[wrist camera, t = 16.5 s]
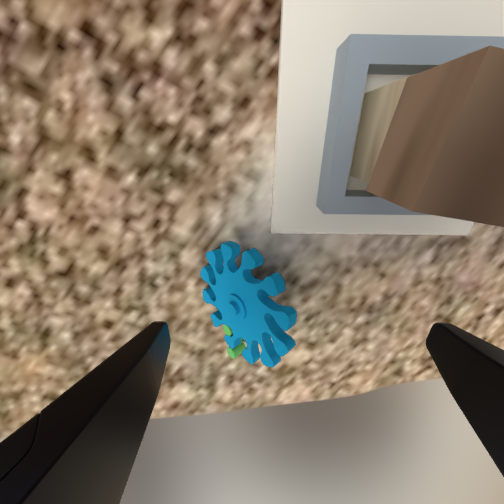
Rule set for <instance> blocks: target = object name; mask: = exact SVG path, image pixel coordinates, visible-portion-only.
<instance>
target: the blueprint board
mask: <svg viewBox="0 0 504 504" xmlns="http://www.w3.org/2000/svg"><path fill="white" fill-rule="evenodd" d="M487 46H494V47H499V48H503V49H504V0H282V7H281V28H280V48H279V69H278V89H277V110H276V130H275V151H274V171H273V192H272V212H271V234H380V235H469V233H470V231H471V228H472V226H473V224H474V222H472V221H466V220H460V219H454V218H448V217H442V216H436V215H430V214H424V213H418V212H412V211H410V210H407V209H405V208H403V207H401V206H399V205H396V204H394V203H392V202H390V201H388V200H385V199H383V198H381V197H379V196H377V195H374V194H372V193H370V192H368V191H366V188H367V186H368V183H367V182H365V181H362V180H359V179H357V178H354V177H352V176H350V172H351V167H352V161H353V156H354V150H355V145H356V139H357V134H358V128H359V122H360V117H361V111H362V106H363V100H364V95H365V93H367V92H370V91H372V90H375V89H377V88H380V87H382V86H385V85H387V84H390V83H393V82H395V81H398V80H400V79H403V78H405V77H408V76H410V75H413V74H418V73H420V72H423V71H425V70H428V69H431V68H433V67H436V66H438V65H441V64H444V63H446V62H449V61H451V60H454V59H456V58H459V57H462V56H464V55H467V54H469V53H472V52H474V51H477V50H480V49H482V48H485V47H487Z"/></svg>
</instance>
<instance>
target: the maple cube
mask: <svg viewBox="0 0 504 504" xmlns="http://www.w3.org/2000/svg"><path fill="white" fill-rule="evenodd" d="M413 75H415V74H413ZM413 75H410V76H413ZM410 76H408V77H410ZM406 80H407V77H405V78H403V79H400V80H398V81H395V82H393V83H390V84H387V85H385V86H382V87H380V88H377V89H375V90H372V91H370V92H367V93H365V95H364V100H363V106H362V111H361V117H360V122H359V128H358V134H357V139H356V145H355V150H354V156H353V161H352V167H351V172H350V176H352V177H354V178H357V179H359V180H362V181H365V182H367V183H369V180H370V178H371V175H372V172H373V169H374V167H375V164H376V161H377V159H378V156H379V153H380V150H381V148H382V145H383V142H384V139H385V137H386V134H387V131H388V129H389V126H390V123H391V120H392V118H393V115H394V112H395V110H396V107H397V104H398V101H399V99H400V96H401V93H402V91H403V88H404V85H405V82H406Z"/></svg>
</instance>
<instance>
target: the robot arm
mask: <svg viewBox="0 0 504 504" xmlns="http://www.w3.org/2000/svg"><path fill="white" fill-rule="evenodd" d="M426 346H427V349H428V351H429V353H430V355H431V356H432V358H433V360H434V362H435V364H436V366H437V368H438V370H439V372H440V374H441V376H442V378H443V379H444V381H445V383H446V385H447V387H448V389H449V391H450V393H451V394H452V396H453V397H454V399H455V401H456V402H457V404H458V406H459V407H460V409H461V410H462V411H463V414H464V415H465V417H466V418H467V420H468V421H469V423H470V425H471V426H472V428H473V429H474V431H475V432H476V434H477V436H478V437H479V439H480V440H481V442H482V444H483V445H484V447H485V448H486V450H487V451H488V453H489V455H490V456H491V458H492V459H493V461H494V462H495V464H496V466H497V467H498V469H499V470H500V472H501V473H502V475H503V477H504V350H502V349H500V348H498V347H496V346H494V345H492V344H490V343H488V342H486V341H484V340H482V339H480V338H478V337H476V336H474V335H472V334H470V333H468V332H466V331H464V330H462V329H460V328H458V327H456V326H454V325H452V324H450V323H435V324H433V326H432V328H431V330H430V332H429V334H428V337H427V339H426ZM169 349H170V335H169V330H168V325H167V323H166V322H164V321H155V322H153V323H151V324H150V325H149V326H147V327H146V328H145V329H144V330H142V331H141V332H140V333H138V334H137V335H136V336H135V337H133V338H132V339H131V340H130V341H128V342H127V343H126V344H125V345H123V346H122V347H121V348H120V349H118V350H117V351H116V352H115V353H113V354H112V355H111V356H110V357H108V358H107V359H106V360H105V361H103V362H102V363H101V364H99V365H98V366H97V367H96V368H94V369H93V370H92V371H91V372H89V373H88V374H87V375H86V376H84V377H83V378H82V379H81V380H79V381H78V382H77V383H76V384H74V385H73V386H72V387H71V388H69V389H68V390H67V391H65V392H64V393H63V394H62V395H60V396H59V397H58V398H57V399H55V400H54V401H53V402H52V403H50V404H49V405H48V406H47V407H45V408H44V409H43V410H42V411H41V413H40V414H36V415H35V416H34V417H33V418H31V419H30V420H29V421H28V422H26V423H25V424H24V425H23V426H21V427H20V428H19V429H17V430H16V431H15V432H14V433H12V434H11V435H10V436H8V437H7V438H6V439H4V440H3V441H2V442H1V443H0V504H119V503H120V500H121V497H122V495H123V492H124V489H125V486H126V483H127V481H128V478H129V475H130V472H131V469H132V467H133V464H134V461H135V458H136V455H137V452H138V449H139V447H140V444H141V441H142V439H143V436H144V433H145V430H146V427H147V424H148V422H149V419H150V416H151V413H152V411H153V408H154V405H155V402H156V399H157V396H158V393H159V389H160V385H161V381H162V377H163V373H164V369H165V365H166V361H167V357H168V353H169Z"/></svg>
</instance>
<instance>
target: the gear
mask: <svg viewBox="0 0 504 504" xmlns="http://www.w3.org/2000/svg"><path fill="white" fill-rule="evenodd" d="M239 254H240V245H239V244H237V243H235V242H232V241H228V242H225V243H222V244H221V249H220V248H219V249H215V250H212V251H209V252H207V253H206V257H207V260H208V262H209V263H210V265H208V266H205V267H203V268H202V270H201V273H200V275H201V277H202V279H203V280H205V281H206V282H207V283H208V284H209V285H210V287H208V288H206V289H204V290H203V299H204V301H205V302H206V303H210V304H213V305H214V306H215V307H216V308H217V309H218V311H216V312H214V313H212V314H211V319H212V321H213V324H214V326H215V327H218V326H220V325H222V324H224V326H223V329H224V332H225V333H226V334H227V335H225V337H224V339H225V341H226V342H227V344H228V345H229V348H228V349H227V352H228V354H229V356H230V357H231V358H232V359H234V358H236V357H237V356H238V355H240V354H241V353H242V355H243V357H244V358H245V359H246V360H247V361H248V362H249V363H251V364H253V363H255V362H256V361H257V360H258V359H259V358H261V361H262V363H263V364H264V365H265V366H268V367H274V366H275V365H276V364H277V363H279V362H280V361H281V358H280V356H284V355H285V354H286V353H288V352H289V351H290V350H291V349H292V348H293V347H294V346H295V345H296V344H295V341H294V340H293V339H292V337H290V336H289V335H288V334H286V333H285V332H284V331H283V330H285V331H287V330H288V329H290V328H291V327H292V326H293V325H295V323H296V317H297V311H296V310H295V309H294V308H292V307H290V306H282V305H279V304H277V303H276V302H274V301H273V300H272V299H271V298H269V297H268V296H269V295H270V296H277V295H278V294H280V293H281V292H283V291H285V282H284V280H283V278H282V276H281V274H280V273H274V274H272V275H270V276H268V277H266V278H265V279H264V280H260V279H256V278H254V277H253V275H252V273H251V269H254V268H256V267H258V266H261V265H262V264H263V262H264V259H263V257H262V255H261V254H260V253H259V252H258V251H257V250H256V249H255V248H252V249H249V250H247V251H244V252H243V254H242V262H241V266H240V268H238V267H237V265H236V262H235V259H236V257H237V256H238V255H239ZM223 260H224V266H223ZM282 329H283V330H282ZM270 336H271V337H270ZM271 338H272V340H273V343H272V340H271ZM243 341H244V342H246V343H247V348H246V347H245V345H244V343H243ZM258 343H259V344H260V346H261V348H262V352H261V355H260V352H259V349H258Z"/></svg>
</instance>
